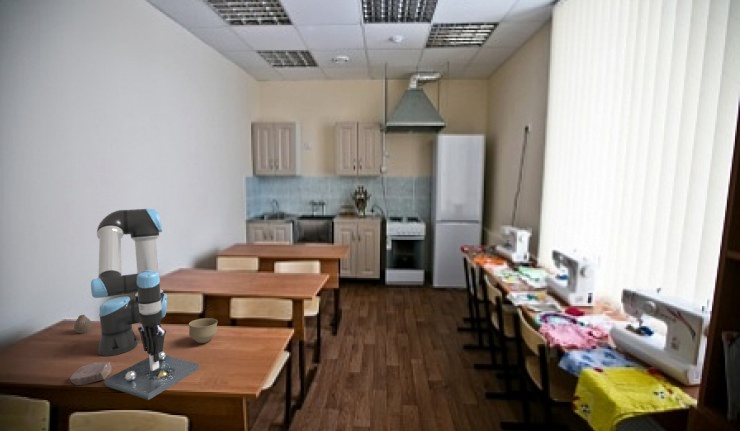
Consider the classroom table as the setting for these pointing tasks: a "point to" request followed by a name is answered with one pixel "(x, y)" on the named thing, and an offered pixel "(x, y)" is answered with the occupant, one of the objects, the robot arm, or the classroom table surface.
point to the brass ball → (162, 374)
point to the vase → (82, 324)
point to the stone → (91, 373)
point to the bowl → (203, 329)
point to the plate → (151, 377)
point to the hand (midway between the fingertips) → (154, 368)
